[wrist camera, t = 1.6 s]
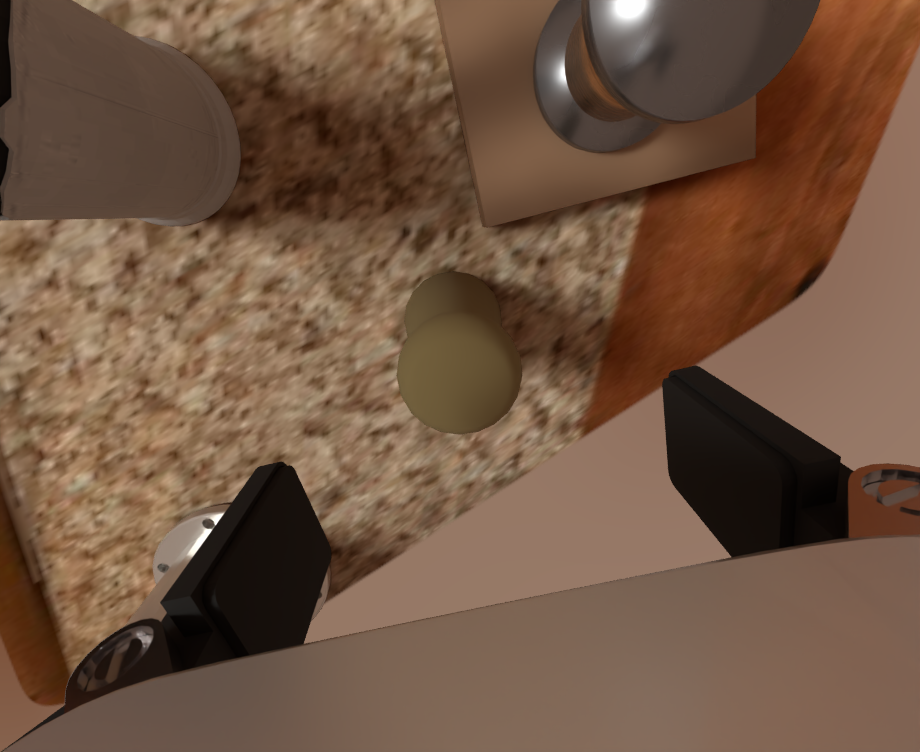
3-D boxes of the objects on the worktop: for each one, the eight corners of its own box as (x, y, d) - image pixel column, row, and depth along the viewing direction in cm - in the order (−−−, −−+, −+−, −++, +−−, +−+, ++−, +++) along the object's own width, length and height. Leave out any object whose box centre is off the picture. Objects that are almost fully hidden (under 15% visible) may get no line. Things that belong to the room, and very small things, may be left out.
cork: (515, 290, 26) (565, 339, 16) (482, 377, 28) (506, 473, 18) (420, 257, 25) (407, 288, 15) (393, 350, 27) (364, 435, 17)
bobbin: (685, 132, 21) (822, 87, 13) (546, 168, 21) (604, 144, 14) (677, -46, 19) (840, -225, 11) (520, -2, 19) (573, -145, 11)
